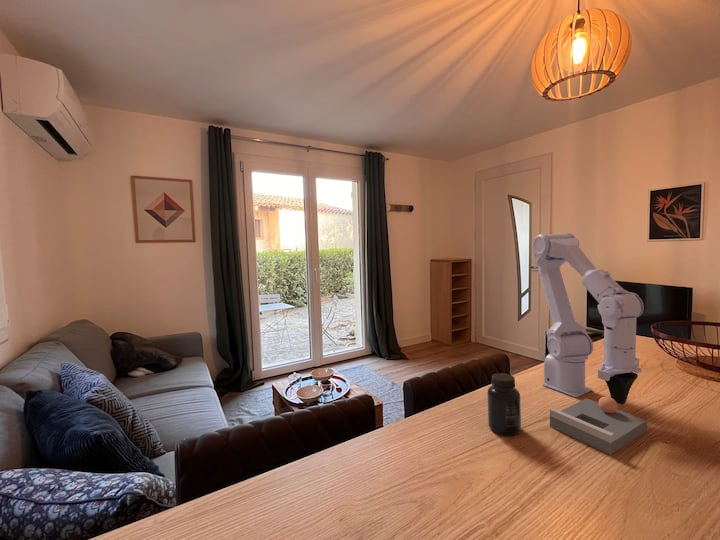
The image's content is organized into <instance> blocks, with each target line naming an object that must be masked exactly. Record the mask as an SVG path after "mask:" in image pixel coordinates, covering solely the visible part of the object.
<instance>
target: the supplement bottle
mask: <svg viewBox="0 0 720 540" xmlns="http://www.w3.org/2000/svg"><path fill="white" fill-rule="evenodd" d="M486 391H487V418H488V419H487V421H488V426H489V429H490V430H491V431H492V432H494V433H495V432H496V434H498V435H502V436H507V437H513V436H517V435H519V434H520V432H522V431H521V429H522V411H521V409H522V408H521V406H522V405H521V394H520V392H519V390H518V388H516V380H515V376H513V375H511V374H509V373H503V372H497V373H493V374H492V375H491V385H490V386H489V387H488V389H487V390H486Z"/></svg>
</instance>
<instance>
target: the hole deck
mask: <svg viewBox="0 0 720 540" xmlns="http://www.w3.org/2000/svg"><path fill="white" fill-rule="evenodd" d="M549 427H550V428H553V429H555V430H557V431H558V432H560V433H563V434H565V435H567V436H569V437H571V438H573V439H576V440H578V441H580V442H582V443H584V444H586V445H588V446H590V447H592V448H594V449H596V450H598V451H601V452H602V453H605V454H607V455H609V456H612V455H613V454H615V453H616V452H618V451H620V450H621V449H622V448H624V447H626V446H627V445H629V444H630V443H631V442H633V441H635V440H636V439H638V438H639V437H640V436H642V435H643V434H645V433H647V431H648V420H647V419H645V418H642V417H639V416H638V415H634V414H631V413H628V412H625V411H622V410H620V409H617V411H616V412H614V413H606V412H604V411H603V410H602V409H601V408H600V407H599V401H598V402H597V401H596V400H593V399H589V398H585V399H582V400H580V401H578V402H575V403H574V404H571V405H569V406H567V407H565V408H563V409H562V410H559V409H556V408H555V407H552V408H550V409H549Z"/></svg>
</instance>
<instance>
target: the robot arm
mask: <svg viewBox="0 0 720 540" xmlns="http://www.w3.org/2000/svg"><path fill="white" fill-rule="evenodd" d="M531 250H532V253H533V257H534V261H535V264H536V266H537V270H538V274H539V277H540V280H541V284H542V287H543V292H544V294H545V299H546V302H547V306H548V309H549V313H550V314H549V315H550V317H551V320H552V323H553V324H552V326H551V327H549V329H548V330H547V331H546V339H547V340H546V341H547V343H546V345H547V350H548V352H549V353H548V354H547V355H546V356H545V359H544V363H543V383H542V386H544V387H546V388H550V389H552V390H554V391H558V392H560V393H563V394H565V395H568V396H570V397H572V398H573V397H574V398H579V397H581V396H583V395H585V394H587V393H589V392H592V391H593V388H592V387H589V386H586V360H588V359H589V356H590V355H592V353H593V352H594V343H593V340H592V339H591V337H590V336H589V334H588V333H587V329H586V327H584V326H583V325H582V324H580V323H578V322H576V319H575V316H574V313H573V310H572V306H571V303H570V299H569V296H568V292H567V290H566V285H565V282H564V279H563V276H562V272H561V269H560V268H561V266H562V265H564V264H565V263H568V264H569V265H570V266H571V267H572V268H573V269H574V270H575V271H576V272H577V273H578V274H579V275H581V277H582V280H581V281H582V282H581V284H582V285H583V287H584V288H585V289H586V290H587V291H588V292H589V293H590V295H592V297H593V298H594V299H595V301H597V303H598V304H597V310H598V313H599V315H600V316H601V323H602V325H603V329H604V330H603V331H604V332H603V336H604V337H603V338H604V339H603V361H602V363H601V365H600V367H599V369H597V379H599V380H604V381H605V383H606V386H607V387H608V391H609V394H610V397H611V398H613V399H614V400H615V401H616V402H617V405H622V406H623V405H625V404H626V402H627V400H628V396H629V393H630V391H631V388H632V386H633V384H634V383H635V381H636V380H637V379H638V374H640V373H641V372H642V371H643V369H642V368H641V367H640V358H637V357H636V355H637V354H636V352H637V351H636V345H637V343H636V342H637V318H638V317H641V316H642V315H643V313H644V308H645V305H644V302H643V299H642V298H641V297H640V296H639V295H638V293H635V292H631V291H628V290H627V289H624V288H623V287H622V286H621V285H620V284H618V282H617V281H616V280H615V279H614V278H613V277H612V276H611V273H610V272H609V271H608V270H604V269H601V268H599V269H597V268H596V267H595V265H594V264H593V263H592V262H591V260H590V259H589V258H588V256H587V255H585V253H584V251H583V250H582V249H581V247H580V240H579V239H578V238H576V236H575V235H574V234H573V233H571V232H565V233H550V234H544V233H541V234H540V233H539V234H538V235H537V236H535V237H534V240H533V242H532V245H531Z"/></svg>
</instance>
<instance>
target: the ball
mask: <svg viewBox="0 0 720 540" xmlns="http://www.w3.org/2000/svg"><path fill="white" fill-rule="evenodd" d="M598 403H599V407H600V408H601V409H602V410H603V411H604V412H606V413H614V412H616V411H617V410H619V409H618V408H619V406H618V405H619V404H618V403H617V402H616V401H615V400H614V399H613V398H611V396H602V397H600V399H599V400H598Z"/></svg>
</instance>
